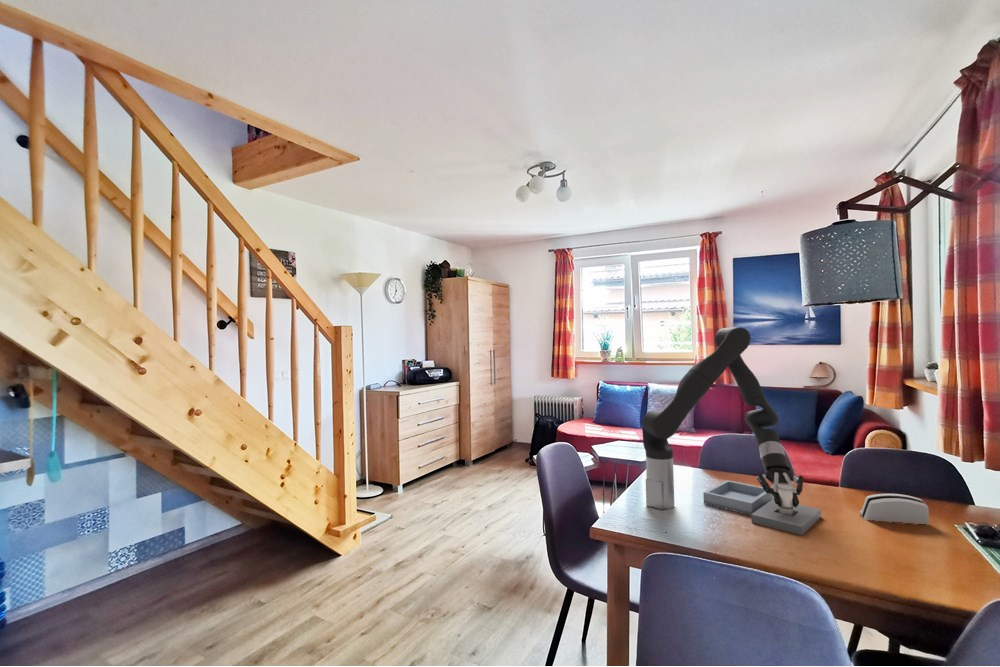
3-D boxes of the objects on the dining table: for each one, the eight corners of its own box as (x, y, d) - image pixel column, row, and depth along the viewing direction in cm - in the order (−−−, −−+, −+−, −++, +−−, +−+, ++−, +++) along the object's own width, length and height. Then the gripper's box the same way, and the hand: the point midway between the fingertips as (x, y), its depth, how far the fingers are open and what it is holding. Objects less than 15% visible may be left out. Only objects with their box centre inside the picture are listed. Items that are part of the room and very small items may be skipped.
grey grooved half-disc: (920, 519, 145) (925, 493, 142) (928, 529, 141) (934, 503, 138) (858, 514, 150) (861, 489, 147) (864, 524, 146) (868, 498, 143)
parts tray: (751, 515, 151) (751, 503, 152) (703, 503, 163) (703, 492, 164) (772, 500, 165) (772, 489, 165) (727, 490, 177) (726, 480, 177)
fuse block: (802, 535, 136) (801, 526, 136) (751, 522, 146) (751, 514, 146) (820, 517, 149) (820, 509, 149) (773, 506, 159) (772, 499, 159)
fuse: (791, 522, 144) (790, 487, 145) (776, 518, 148) (775, 484, 148) (795, 519, 147) (794, 484, 147) (781, 515, 150) (779, 482, 151)
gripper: (753, 451, 157) (766, 498, 145) (799, 452, 153) (816, 501, 141) (748, 462, 162) (761, 509, 150) (793, 464, 159) (809, 512, 146)
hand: (788, 505), depth 146 cm, fingers closed on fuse, 4 cm apart
